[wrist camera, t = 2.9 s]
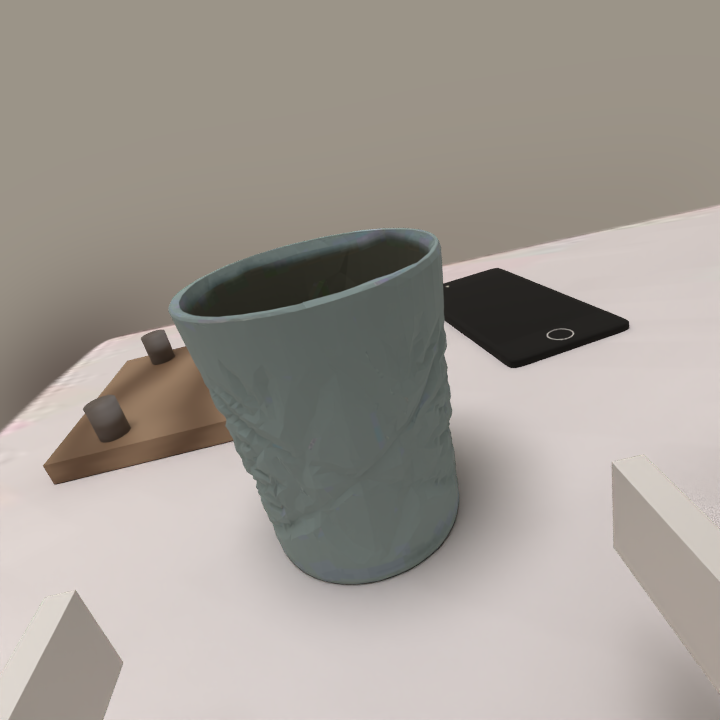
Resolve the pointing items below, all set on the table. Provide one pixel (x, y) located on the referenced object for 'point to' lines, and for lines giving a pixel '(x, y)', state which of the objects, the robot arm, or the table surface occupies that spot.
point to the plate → (142, 416)
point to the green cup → (335, 394)
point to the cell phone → (523, 317)
